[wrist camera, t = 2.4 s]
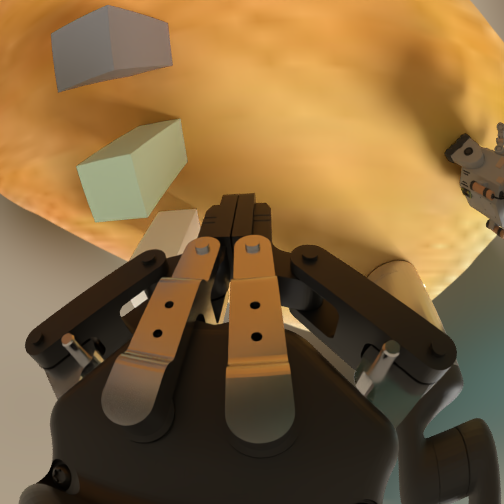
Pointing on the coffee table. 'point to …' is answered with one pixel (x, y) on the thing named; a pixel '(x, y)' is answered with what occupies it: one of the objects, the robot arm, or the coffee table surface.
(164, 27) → the slate grey pillar
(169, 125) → the sage green pillar
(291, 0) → the coffee table surface
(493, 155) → the figurine
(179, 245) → the off white pillar
